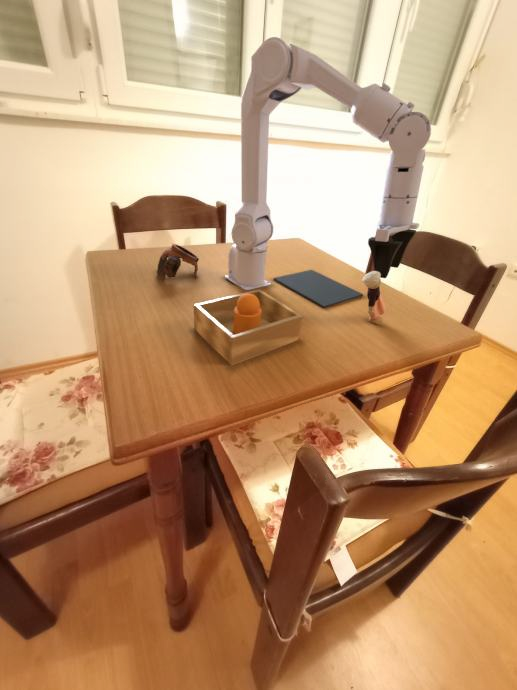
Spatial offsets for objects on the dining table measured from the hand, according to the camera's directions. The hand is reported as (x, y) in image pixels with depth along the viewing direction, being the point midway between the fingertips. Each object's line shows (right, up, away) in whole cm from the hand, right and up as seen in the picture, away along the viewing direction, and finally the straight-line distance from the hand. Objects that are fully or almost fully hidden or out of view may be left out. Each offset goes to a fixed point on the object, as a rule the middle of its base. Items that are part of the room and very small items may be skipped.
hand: (386, 271), depth 62 cm
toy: (-28, -13, -5) cm, 31 cm away
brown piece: (-46, +3, +16) cm, 49 cm away
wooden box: (-28, -13, -5) cm, 31 cm away
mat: (-11, 0, +17) cm, 20 cm away
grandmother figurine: (0, -8, +5) cm, 9 cm away
